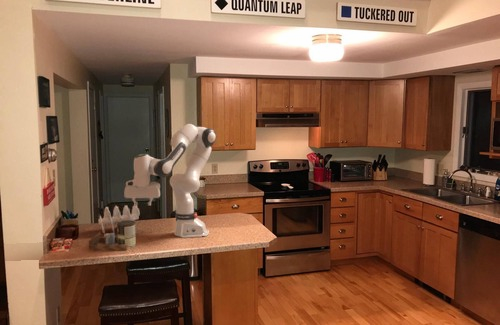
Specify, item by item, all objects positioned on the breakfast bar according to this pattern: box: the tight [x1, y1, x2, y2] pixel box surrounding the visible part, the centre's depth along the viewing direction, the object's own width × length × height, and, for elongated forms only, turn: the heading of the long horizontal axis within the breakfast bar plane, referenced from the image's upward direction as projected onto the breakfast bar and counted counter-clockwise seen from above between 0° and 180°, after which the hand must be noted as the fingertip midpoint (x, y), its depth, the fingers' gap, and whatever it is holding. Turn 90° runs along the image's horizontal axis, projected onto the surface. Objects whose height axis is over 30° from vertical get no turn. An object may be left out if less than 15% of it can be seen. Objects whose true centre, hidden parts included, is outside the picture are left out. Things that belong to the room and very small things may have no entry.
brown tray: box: [88, 232, 128, 252], centre depth 232 cm, size 21×16×6 cm
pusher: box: [103, 232, 116, 245], centre depth 232 cm, size 4×12×7 cm, turn 1°
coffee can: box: [116, 220, 137, 250], centre depth 232 cm, size 10×10×14 cm
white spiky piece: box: [98, 205, 141, 235], centre depth 262 cm, size 18×18×25 cm
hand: (142, 205), depth 230 cm, fingers open, 6 cm apart
